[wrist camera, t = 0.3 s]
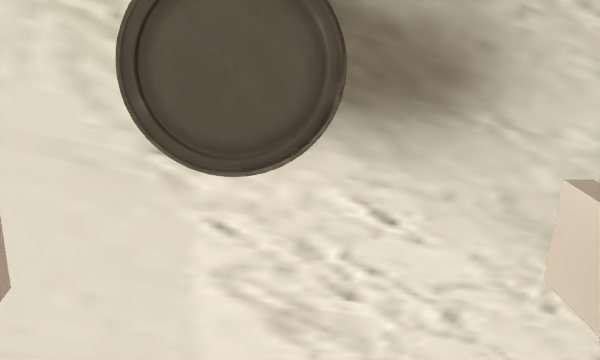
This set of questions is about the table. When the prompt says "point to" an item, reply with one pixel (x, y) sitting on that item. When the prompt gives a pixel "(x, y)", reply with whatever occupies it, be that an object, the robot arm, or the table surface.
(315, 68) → the coffee can
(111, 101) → the table surface
